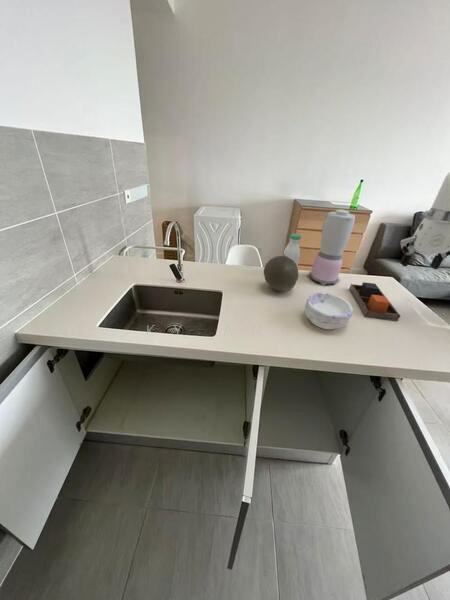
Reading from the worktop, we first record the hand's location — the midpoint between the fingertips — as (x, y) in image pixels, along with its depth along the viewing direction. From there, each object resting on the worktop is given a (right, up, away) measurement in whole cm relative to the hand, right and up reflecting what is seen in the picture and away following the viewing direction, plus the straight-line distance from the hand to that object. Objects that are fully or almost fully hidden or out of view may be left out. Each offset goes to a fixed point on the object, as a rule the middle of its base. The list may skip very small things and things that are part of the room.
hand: (418, 266), depth 85 cm
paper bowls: (-32, -20, +3) cm, 37 cm away
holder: (-7, -13, +16) cm, 22 cm away
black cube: (-6, -10, +20) cm, 23 cm away
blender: (-21, -1, +34) cm, 40 cm away
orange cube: (-8, -15, +11) cm, 20 cm away
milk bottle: (-36, +1, +36) cm, 51 cm away
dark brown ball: (-44, -7, +22) cm, 50 cm away
